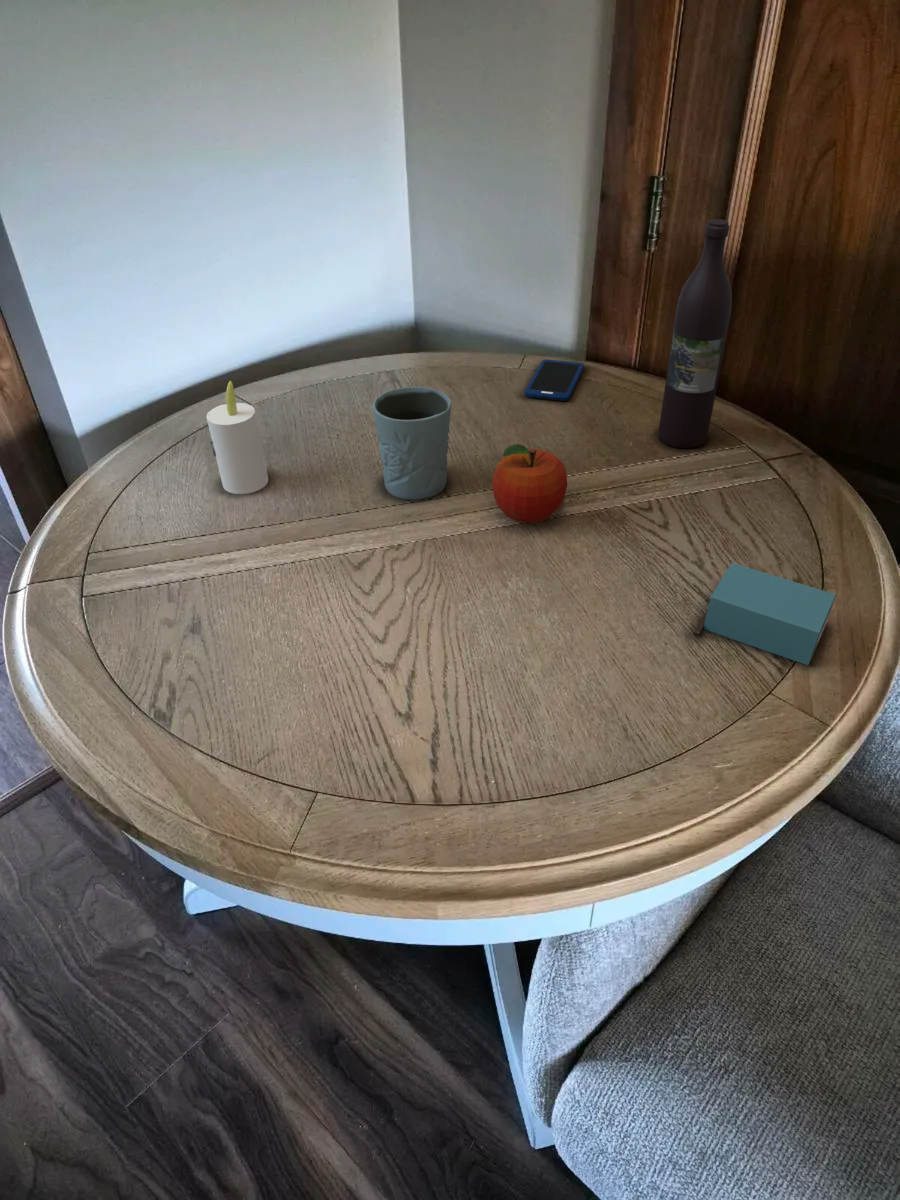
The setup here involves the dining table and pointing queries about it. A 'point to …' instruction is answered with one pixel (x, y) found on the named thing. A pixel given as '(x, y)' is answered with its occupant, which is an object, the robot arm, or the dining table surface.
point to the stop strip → (700, 625)
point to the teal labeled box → (769, 612)
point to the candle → (237, 445)
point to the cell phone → (554, 380)
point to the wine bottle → (697, 345)
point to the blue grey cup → (413, 440)
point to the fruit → (529, 484)
